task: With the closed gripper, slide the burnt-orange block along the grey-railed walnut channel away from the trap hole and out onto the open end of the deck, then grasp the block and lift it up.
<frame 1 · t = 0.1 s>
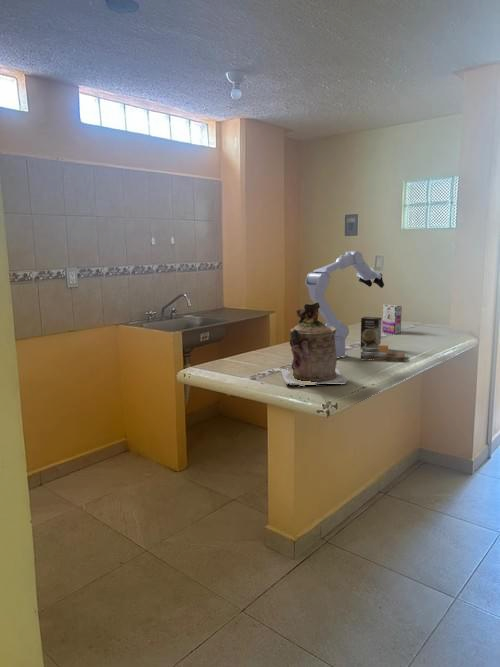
hand: (376, 285, 248), 32 cm above the table, tool tilted 50°, fingers open, 7 cm apart
cookie jar: (312, 379, 203), on the table
coffee box: (370, 349, 252), on the table
candy bar box: (391, 332, 292), on the table
trap channel: (382, 358, 232), on the table
block: (383, 353, 232), point 2 cm above the table, touching trap channel
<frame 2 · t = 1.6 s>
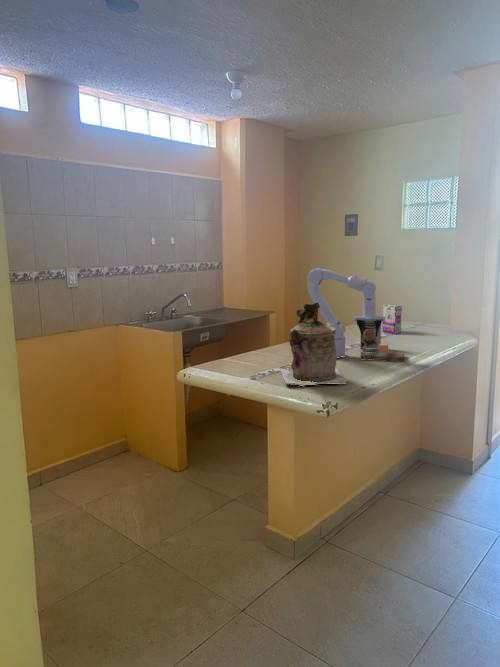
hand: (369, 336, 232), 10 cm above the table, tool pointing down, fingers open, 6 cm apart
nothing on the table moved.
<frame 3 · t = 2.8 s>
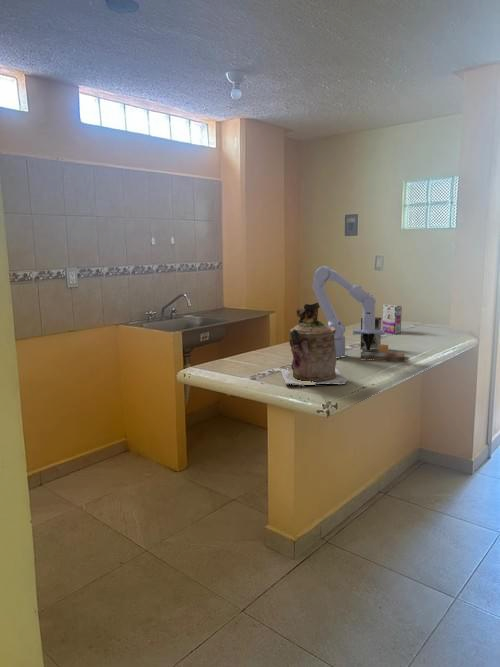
hand: (368, 349, 234), 4 cm above the table, tool pointing down, fingers closed
nothing on the table moved.
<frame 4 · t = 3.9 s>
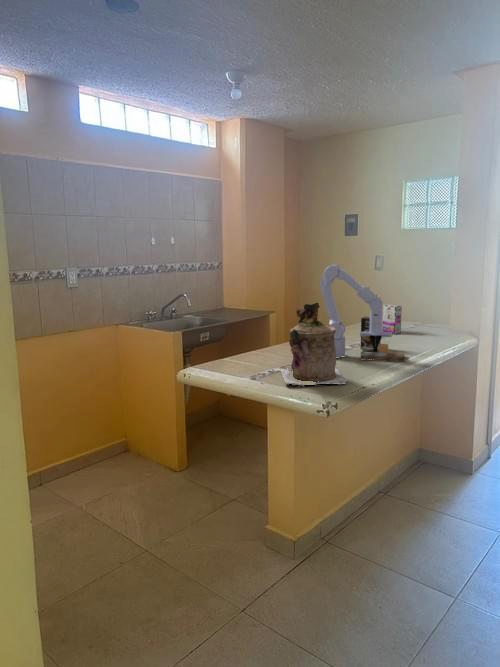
hand: (375, 351, 233), 3 cm above the table, tool pointing down, fingers closed
block: (383, 353, 232), point 2 cm above the table, touching gripper, trap channel
everything else where it was.
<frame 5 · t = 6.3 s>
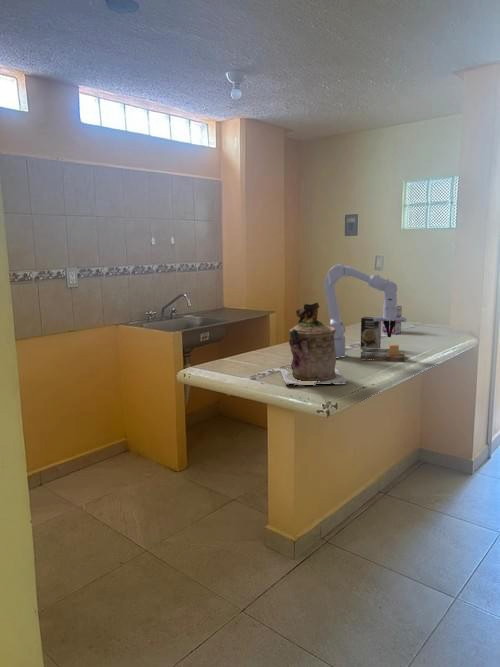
hand: (389, 336, 230), 10 cm above the table, tool pointing down, fingers closed
block: (394, 354, 230), point 2 cm above the table, touching trap channel
everything else where it was.
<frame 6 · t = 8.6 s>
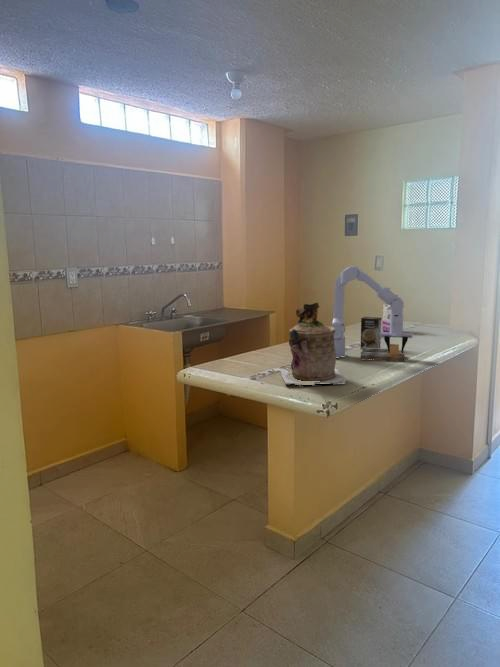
hand: (395, 352, 230), 3 cm above the table, tool pointing down
block: (394, 354, 230), point 2 cm above the table, touching gripper
everything else where it was.
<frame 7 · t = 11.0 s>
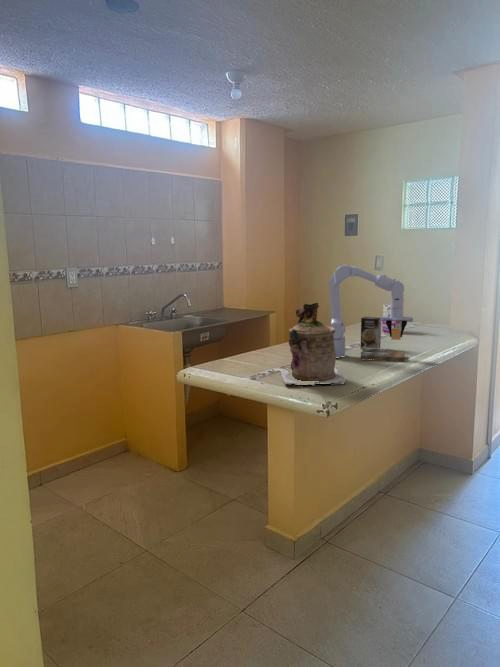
hand: (396, 336, 229), 10 cm above the table, tool pointing down, fingers closed on block, 4 cm apart
block: (396, 338, 229), point 9 cm above the table, touching gripper
everything else where it was.
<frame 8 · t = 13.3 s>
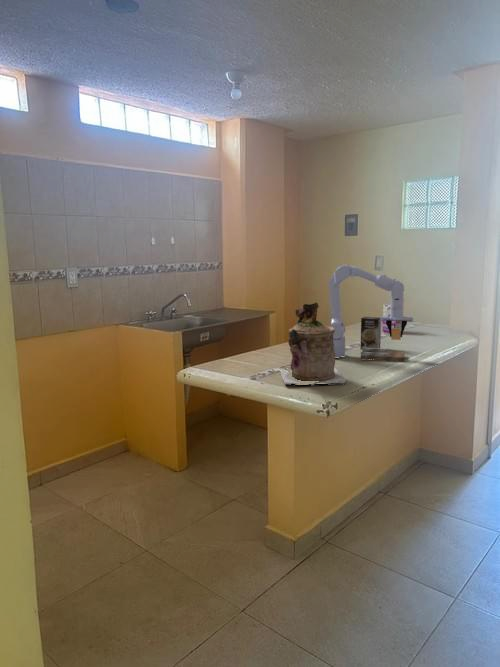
hand: (396, 336, 229), 10 cm above the table, tool pointing down, fingers closed on block, 4 cm apart
block: (396, 338, 229), point 9 cm above the table, touching gripper
everything else where it was.
at the end: the gripper is holding block; block inside the target area (0.1 cm from its centre), point 9.5 cm above the table; block moved 9.3 cm from its start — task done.
